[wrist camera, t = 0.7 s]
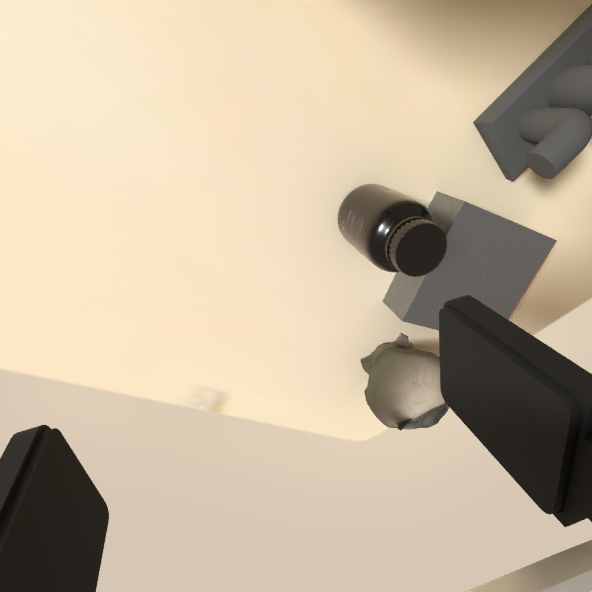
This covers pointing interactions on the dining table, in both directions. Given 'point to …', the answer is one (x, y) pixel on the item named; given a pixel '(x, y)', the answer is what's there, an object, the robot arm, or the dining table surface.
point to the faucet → (545, 108)
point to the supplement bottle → (392, 230)
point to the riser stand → (471, 264)
